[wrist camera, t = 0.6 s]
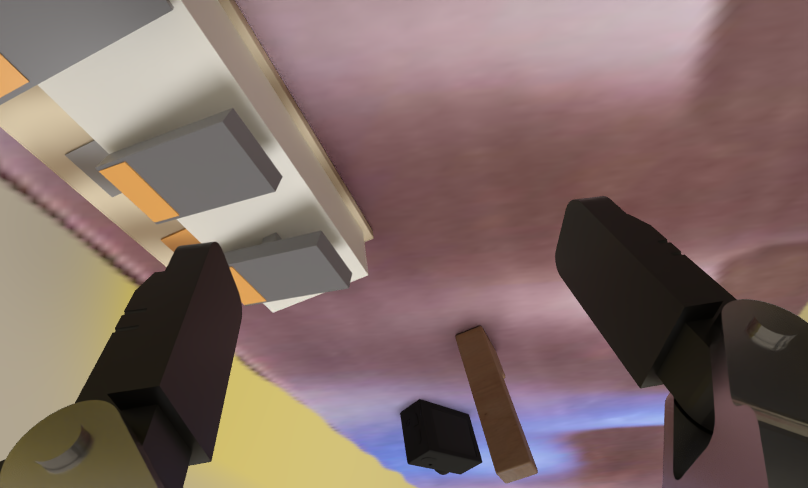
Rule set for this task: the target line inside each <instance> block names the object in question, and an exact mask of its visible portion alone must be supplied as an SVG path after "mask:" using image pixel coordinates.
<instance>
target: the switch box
mask: <svg viewBox="0 0 808 488" xmlns="http://www.w3.org/2000/svg"><path fill="white" fill-rule="evenodd" d="M169 1H170V2H171V4H172V5H173V6H174V9H173V10H172V11H170V12H169V13H167V14H165V15H163V16H161V17H159V18H158V19H156V20H154V21H152V22H150V23H149V24H147V25H145V26H143V27H141V28H139V29H138V30H136V31H134V32H132V33H130V34H129V35H127V36H125V37H123V38H121V39H119V40H118V41H116V42H114V43H112V44H110V45H109V46H107V47H105V48H103V49H101V50H99V51H98V52H96V53H94V54H92V55H90V56H89V57H87V58H85V59H83V60H81V61H79V62H78V63H76V64H74V65H72V66H70V67H69V68H67V69H65V70H63V71H61V72H60V73H58V74H56V75H54V76H52V77H50V78H49V79H47V80H45V81H43V82H41V83H40V84H38V86H39V87H40V88H41V89H42V90H43V91H44V92H45V93H46V94H47V95H48V96H50V97H51V98H52V99H53V100H54V101H55V102H56V103H57V104H58V105H59V106H60V107H61V108H62V109H63V110H64V111H65V112H66V113H67V114H68V115H69V116H70V117H71V118H72V119H73V120H74V121H75V122H76V123H77V124H78V125H79V126H81V127H82V128H83V129H84V130H85V131H86V132H87V133H88V134H89V135H90V136H91V137H92V138H93V139H94V140H95V141H96V142H97V143H98V144H99V145H100V146H101V147H102V148H103V149H104V150H105V151H106V152H107V153H108V154H111V153H113V152H116V151H119V150H121V149H124V148H127V147H129V146H132V145H135V144H137V143H140V142H143V141H145V140H148V139H151V138H153V137H156V136H159V135H161V134H164V133H167V132H169V131H172V130H175V129H177V128H180V127H183V126H185V125H188V124H191V123H193V122H196V121H199V120H201V119H204V118H207V117H209V116H212V115H215V114H217V113H220V112H223V111H225V110H228V109H231V108H234V110H235V111H236V113H237V114H238V115H239V117H240V118H241V120H242V121H243V122H244V124H245V125H246V126H247V128H248V129H249V131H250V132H251V133H252V135H253V136H254V138H255V139H256V140H257V142H258V143H259V145H260V146H261V147H262V149H263V150H264V151H265V153H266V154H267V156H268V157H269V158H270V160H271V161H272V163H273V164H274V165H275V167H276V168H277V170H278V171H279V172H280V174H281V175H282V176H283V177H282V179H281V181H280V183H279V185H278V187H277V189H276V192H272V193H269V194H265V195H261V196H258V197H254V198H251V199H247V200H243V201H240V202H236V203H233V204H229V205H226V206H222V207H218V208H215V209H211V210H208V211H204V212H200V213H197V214H193V215H190V216H186V217H182V218H179V219H177V220H178V221H179V222H180V223H181V224H182V225H183V226H184V227H185V228H186V229H187V230H188V231H189V232H190V233H191V234H192V235H193V236H194V237H195V238H196V239H197V240H198V241H199V242H200V243H208V242H217V243H219V245H220V246H221V248H222V250H223V253H225V252H230V251H234V250H239V249H243V248H247V247H252V246H256V245H260V244H265V243H269V242H273V241H278V240H282V239H286V238H291V237H295V236H299V235H304V234H308V233H312V232H317V231H322V232H323V233H324V235H325V236H326V237H327V239H328V240H329V242H330V243H331V244H332V246H333V247H334V249H335V250H336V251H337V253H338V254H339V255H340V257H341V258H342V260H343V261H344V262H345V264H346V265H347V267H348V268H349V269H350V271H351V272H352V277H351V281H350V282H352V281H355V280H357V279H360V278H362V277H365V276H367V275H368V268H367V260H366V252H365V243H364V235H363V231H362V230H361V228H360V226H359V225H358V223H357V222H356V220H355V218H354V217H353V215H352V214H351V212H350V210H349V209H348V207H347V206H346V204H345V202H344V201H343V199H342V198H341V196H340V194H339V193H338V191H337V190H336V188H335V186H334V185H333V183H332V182H331V180H330V178H329V177H328V175H327V174H326V172H325V171H324V169H323V167H322V166H321V164H320V163H319V161H318V159H317V158H316V156H315V155H314V153H313V151H312V150H311V148H310V147H309V145H308V143H307V142H306V140H305V139H304V137H303V135H302V134H301V132H300V131H299V129H298V127H297V126H296V124H295V123H294V121H293V119H292V118H291V116H290V115H289V113H288V111H287V110H286V108H285V107H284V105H283V103H282V102H281V100H280V99H279V97H278V95H277V94H276V92H275V91H274V89H273V87H272V86H271V84H270V83H269V81H268V79H267V78H266V76H265V75H264V73H263V71H262V70H261V68H260V67H259V65H258V63H257V62H256V60H255V59H254V57H253V55H252V54H251V52H250V51H249V49H248V47H247V46H246V44H245V43H244V41H243V39H242V38H241V36H240V35H239V33H238V31H237V30H236V28H235V27H234V25H233V23H232V22H231V20H230V19H229V17H228V15H227V14H226V12H225V11H224V9H223V7H222V6H221V4H220V3H219V1H218V0H169ZM319 294H322V293H318V294H312V295H306V296H301V297H295V298H289V299H283V300H277V301H272V302H266V303H263V304H264V305H266V306H267V307H268V308H269V309H270V310H271V311H272V312H276V311H279V310H281V309H284V308H286V307H289V306H291V305H294V304H296V303H299V302H301V301H304V300H306V299H309V298H312V297H314V296H317V295H319Z"/></svg>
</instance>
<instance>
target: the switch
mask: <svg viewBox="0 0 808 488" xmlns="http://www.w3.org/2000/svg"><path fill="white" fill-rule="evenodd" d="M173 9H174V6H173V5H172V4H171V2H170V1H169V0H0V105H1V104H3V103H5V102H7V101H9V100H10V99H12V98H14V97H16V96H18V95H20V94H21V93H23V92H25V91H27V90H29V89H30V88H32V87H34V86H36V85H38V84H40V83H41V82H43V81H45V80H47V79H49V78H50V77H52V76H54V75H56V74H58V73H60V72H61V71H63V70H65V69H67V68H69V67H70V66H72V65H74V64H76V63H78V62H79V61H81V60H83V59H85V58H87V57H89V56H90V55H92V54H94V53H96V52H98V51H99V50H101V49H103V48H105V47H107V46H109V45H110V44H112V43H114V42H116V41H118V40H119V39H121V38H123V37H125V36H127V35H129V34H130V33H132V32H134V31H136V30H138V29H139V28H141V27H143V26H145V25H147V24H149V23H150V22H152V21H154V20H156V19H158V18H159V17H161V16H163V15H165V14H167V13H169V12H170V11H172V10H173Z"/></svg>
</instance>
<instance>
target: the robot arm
mask: <svg viewBox="0 0 808 488" xmlns="http://www.w3.org/2000/svg"><path fill="white" fill-rule="evenodd" d="M555 260H556V266H557V270H558V272H559V275H560V276H561V278H562V279H563V281H564V282H565V283H566V285H567V286H568V288H569V289H570V290H571V292H572V293H573V295H574V296H575V297H576V299H577V300H578V302H579V303H580V305H581V306H582V307H583V309H584V310H585V312H586V313H587V314H588V316H589V317H590V319H591V320H592V321H593V323H594V324H595V326H596V327H597V328H598V330H599V331H600V333H601V334H602V335H603V337H604V338H605V340H606V341H607V342H608V344H609V345H610V347H611V348H612V349H613V351H614V352H615V354H616V355H617V357H618V358H619V359H620V361H621V362H622V364H623V365H624V366H625V368H626V369H627V371H628V372H629V373H630V375H631V376H632V378H633V379H634V380H635V382H636V383H637V385H638V386H639V387H640V388H645V387H651V386H657V385H662V384H664V385H665V386H666V388H667V389H668V390H669V392H670V393H669V395H668V396H667V398H666V400H665V417H664V453H663V485H662V488H808V323H807V322H806V321H804V320H803V319H802V318H800V317H799V316H797V315H795V314H793V313H792V312H790V311H788V310H785V309H783V308H781V307H778V306H776V305H773V304H770V303H766V302H762V301H757V300H750V299H741V300H737V299H735V298H734V297H733V296H732V295H731V294H730V293H728V292H727V291H726V290H725V289H724V288H723V287H722V286H720V285H719V284H718V283H717V282H716V281H715V280H713V279H712V278H711V277H710V276H709V275H708V274H706V273H705V272H704V271H703V270H702V269H701V268H700V267H698V266H697V265H696V264H695V263H694V262H693V261H691V260H690V259H689V258H688V257H687V256H686V255H681V251H680V250H679V249H678V248H676V247H675V246H674V245H673V244H672V243H671V242H670V243H668V242H667V239H666V238H665V237H664V236H663V235H661V234H660V233H659V232H658V231H657V230H656V229H654V228H653V227H652V226H651V225H649V224H647V223H645V222H643V221H641V220H639V219H637V218H635V217H633V216H631V215H629V214H626V213H625V212H624V211H623V210H622V209H621V208H620V207H618V206H617V205H616V204H615V203H614V202H613V201H612V200H611V199H609V198H608V197H606V196H600V197H592V198H584V199H575V200H572V201H570V202H569V204H568V205H567V208H566V211H565V215H564V219H563V223H562V228H561V232H560V236H559V240H558V244H557V248H556V253H555ZM124 312H125V315H122V316H121V318H120V320H119V322H118V324H117V325H116V327H115V330H116V331H115V333H112V335H111V337H110V339H109V340H108V342H107V344H106V346H105V348H104V350H103V352H102V354H101V356H100V357H99V359H98V361H97V363H96V365H95V367H94V369H93V371H92V372H91V374H90V376H89V378H88V380H87V382H86V384H85V386H84V387H83V389H82V391H81V393H80V395H79V397H78V399H77V400H76V402H75V404H72V405H69V406H67V407H64V408H62V409H60V410H58V411H56V412H54V413H52V414H51V415H49V416H47V417H46V418H45V419H43V420H41V421H40V422H39V423H37V424H36V425H35V426H34V427H32V428H31V429H30V430H29V431H28V432H27V433H26V434H25V435H24V436H23V437H22V438H21V439H20V440H19V441H18V442H17V443H16V445H15V446H14V447H13V449H12V450H11V451H10V453H9V455H8V456H7V458H6V459H5V460H3V461H0V488H183V485H184V481H185V477H186V473H187V469H188V466H190V465H195V464H201V463H206V462H211V460H212V456H213V451H214V446H215V442H216V437H217V432H218V428H219V423H220V418H221V414H222V408H223V404H224V399H225V395H226V390H227V385H228V380H229V376H230V371H231V367H232V362H233V357H234V352H235V348H236V343H237V338H238V334H239V329H240V324H241V319H242V304H241V298H240V294H239V291H238V289H237V286H236V283H235V281H234V278H233V276H232V273H231V271H230V268H229V265H228V263H227V260H226V258H225V255H224V253H223V250H222V248H221V246H220V245H219V243H217V242H208V243H199V244H191V245H182V246H178V247H177V248H176V249H175V251H174V253H173V255H172V257H171V259H170V262H169V264H168V266H167V268H166V270H165V271H163V272H155V273H154V274H153V275H151V276H150V277H149V278H148V279H147V280H146V281H145V282H144V283H143V284H142V285H141V286H140V287H139V288H138V289H137V290H135V292H134V294H133V296H132V298H131V299H130V301H129V303H128V305H127V307H126V309H125V311H124Z"/></svg>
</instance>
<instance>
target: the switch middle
mask: <svg viewBox="0 0 808 488" xmlns="http://www.w3.org/2000/svg"><path fill="white" fill-rule="evenodd" d="M95 169H97V170H98V171H99V172H100V173H101V174H102V175H103V176H104V177H105V178H106V179H107V180H109V181H110V182H111V183H112V184H113V185H114V186H115V187H116V188H117V189H118V190H119V191H121V192H122V193H123V194H124V195H125V196H126V197H127V198H128V199H129V200H130V201H131V202H133V203H134V204H135V205H136V206H137V207H138V208H139V209H140V210H141V211H142V212H143V213H145V214H146V215H147V216H148V217H149V218H150V219H151V220H152V221H153V222H154V223H155V224H161V223H164V222H168V221H172V220H175V219H179V218H182V217H186V216H190V215H193V214H197V213H200V212H204V211H208V210H211V209H215V208H218V207H222V206H226V205H229V204H233V203H236V202H240V201H243V200H247V199H251V198H254V197H258V196H261V195H265V194H269V193H272V192H276V189H277V187H278V185H279V183H280V181H281V179H282V177H283V176H282V175H281V174H280V172H279V171H278V170H277V168H276V167H275V165H274V164H273V163H272V161H271V160H270V158H269V157H268V156H267V154H266V153H265V151H264V150H263V149H262V147H261V146H260V145H259V143H258V142H257V140H256V139H255V138H254V136H253V135H252V133H251V132H250V131H249V129H248V128H247V126H246V125H245V124H244V122H243V121H242V120H241V118H240V117H239V115H238V114H237V113H236V111H235V110H234V108H231V109H228V110H225V111H223V112H220V113H217V114H215V115H212V116H209V117H207V118H204V119H201V120H199V121H196V122H193V123H191V124H188V125H185V126H183V127H180V128H177V129H175V130H172V131H169V132H167V133H164V134H161V135H159V136H156V137H153V138H151V139H148V140H145V141H143V142H140V143H137V144H135V145H132V146H129V147H127V148H124V149H121V150H119V151H116V152H113V153H111V154H109V155H108V156H107V157H106V158H105V159H104V160H102V161H101V162H100V163H99V164H98V165H97V166H96V167H95Z"/></svg>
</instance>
